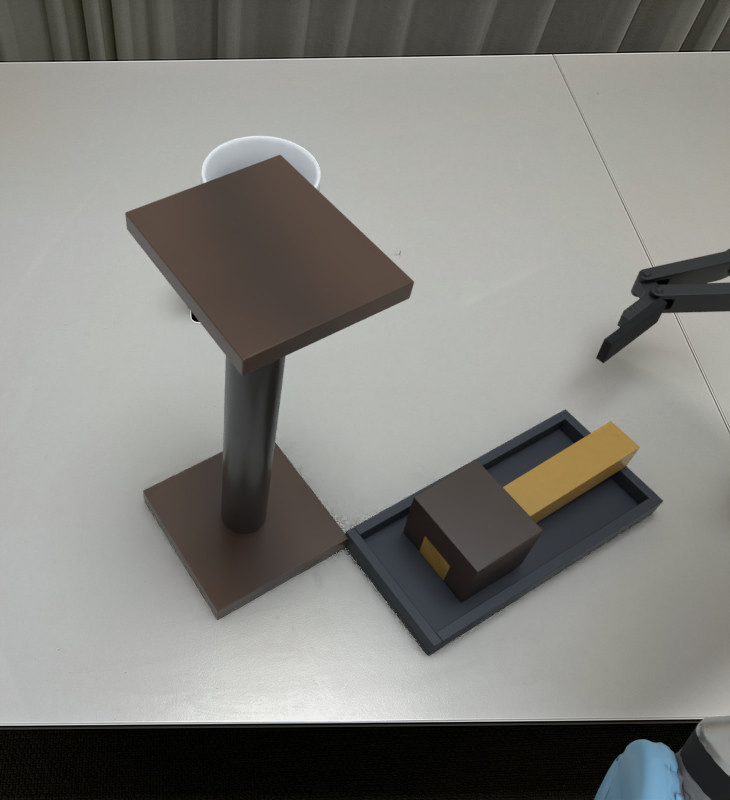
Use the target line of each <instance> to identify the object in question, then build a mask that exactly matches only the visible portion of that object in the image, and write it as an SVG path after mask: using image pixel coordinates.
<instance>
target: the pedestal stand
mask: <svg viewBox="0 0 730 800" xmlns="http://www.w3.org/2000/svg"><path fill="white" fill-rule="evenodd" d="M124 215H125V216H124V217H125V225H126V230H127V232H128V233H129V234H130V235H131V237H132V238H133V239H134V241H135V242H136V243H137V245H139V247H140V248H141V249H142V251H143V252H144V253H145V255H146V256H147V257H148V258H149V259H150V261H151V262H152V263H153V264H154V266H155V267H156V268H157V270H158V271H159V272H160V273H161V275H162V276H163V277H164V278H165V280H166V281H167V282H168V284H169V285H170V286H171V288H172V289H173V290H174V291H175V292H176V294H177V295H178V296H179V298H180V299H181V300H182V302H183V303H184V304H185V305H186V306H187V308H188V309H189V310H190V312H191V313H192V314H193V315H194V317H195V318H196V319H197V321H198V322H199V323H200V324H201V326H202V327H203V328H204V329H205V331H206V332H207V334H208V335H209V336H210V337H211V338H212V340H213V341H214V342H215V344H216V345H217V346H218V347H219V348H220V350H221V351H222V353H223V354H224V355H225V364H224V365H225V366H224V368H225V369H224V403H223V408H224V409H223V433H222V434H223V436H222V451H220V452H218V453H216V454H214V455H213V456H210V457H208V458H206V459H204V460H201V461H200V462H198V463H196V464H194V465H192V466H190V467H188V468H186V469H184V470H182V471H179V472H178V473H176V474H174V475H172V476H170V477H167V478H165V479H163V480H162V481H160V482H157V483H155V484H153V485H151V486H149V487H147V488H145V489H143V490H142V494H143V500H144V502H145V504H146V505H147V507H148V508H149V511H150V512H151V514H152V516H153V518H155V520H156V521H157V524H158V525H159V527H160V529H161V530H162V532H163V533H164V535H165V537H166V538H167V540H168V542H169V543H170V545H171V547H172V548H173V549H174V552H175V553H176V555H177V556H178V558H179V560H180V561H181V563H182V564H183V566H184V568H185V569H186V571H187V573H188V574H189V576H190V578H191V579H192V581H193V582H194V584H195V586H196V588H197V589H198V590H199V592H200V594H201V596H202V597H203V599H204V600H205V602H206V604H207V605H208V607H209V608H210V610H211V612H212V613H213V615H214V617H215V618H216V620H220V619H222V618H224V617H225V616H227V615H229V614H230V613H232V612H234V611H236V610H237V609H239V608H241V607H243V606H244V605H247V604H248V603H251V602H252V601H254V600H255V599H257V598H259V597H261V596H263V595H264V594H266V593H269V591H271V590H274V589H275V588H277V587H278V586H280V585H282V584H284V583H286V582H287V581H289V580H291V579H292V578H294V577H296V576H298V575H300V574H302V573H303V572H305V571H307V570H308V569H310V568H312V567H314V566H316V565H317V564H319V563H321V562H322V561H324V560H327V559H328V558H330V557H331V556H333V555H335V554H337V553H339V552H340V551H343V550H344V549H347V548H346V545H347V542H348V537H347V536H346V535H345V533H346V532H345V531H344V530H343V528H342V527H341V526H340V524H339V523H338V522H337V521H336V519H335V518H334V517H333V515H332V514H331V513H330V512H329V510H328V509H327V508H326V506H325V505H324V503H322V501H321V499H320V498H319V497H318V496H317V494H316V493H315V492H314V491H313V489H312V488H311V487H310V486H309V484H308V482H306V480H305V479H304V478H303V476H302V475H301V474H300V472H299V471H298V470H297V469H296V467H295V466H294V465H293V463H292V462H291V461H290V459H289V458H288V457H287V456H286V454H285V453H284V452H283V451H282V449H281V447H279V445H278V443H277V442H276V439H277V431H278V421H279V414H280V406H281V405H280V404H281V399H282V398H281V397H282V391H283V390H282V389H283V383H284V382H283V381H284V373H285V365H286V356H289V355H291V354H293V353H295V352H297V351H299V350H302V349H304V348H306V347H308V346H311V345H313V344H314V343H317V342H320V341H321V340H323V339H325V338H327V337H329V336H332V335H334V334H336V333H338V332H340V331H342V330H345V329H347V328H349V327H351V326H353V325H355V324H357V323H360V322H362V321H364V320H366V319H368V318H371V317H373V316H375V315H376V314H379V313H381V312H383V311H385V310H387V309H390V308H392V307H394V306H397V305H398V304H401V303H402V302H405V301H407V300H409V299H410V298H411V295H412V291H413V289H414V285H415V281H414V279H412V278H411V276H409V275H408V274H407V273H406V272H405V271H404V270H403V269H402V268H400V267H399V265H397V263H395V262H394V261H393V260H392V259H391V258H390V257H389V256H388V255H387V254H386V253H385V252H384V251H383V250H382V249H380V247H378V245H376V244H375V243H374V242H373V241H372V240H371V239H370V238H369V237H368V236H367V235H366V234H365V233H364V232H363V231H361V229H359V228H358V227H357V226H356V224H354V223H353V222H352V221H351V220H350V219H349V218H348V217H347V216H346V215H345V214H343V212H342V211H341V210H340V209H339V208H337V206H336V205H334V204H333V202H331V201H330V200H329V199H328V198H326V196H324V195H323V193H322V192H321V191H318V190H317V189H316V188H315V187H314V186H313V185H312V184H311V183H310V182H309V181H308V180H307V179H306V178H305V177H303V176H302V175H301V174H300V173H299V172H298V171H297V170H296V169H295V168H294V167H293V166H292V165H291V164H290V163H289V162H288V161H287V160H286V159H285V158H283V157H282V156H281V155H278V156H275V157H272V158H270V159H267V160H264V161H262V162H259V163H256V164H254V165H251V166H248V167H245V168H243V169H240V170H237V171H235V172H232V173H229V174H227V175H224V176H221V177H219V178H216V179H213V180H211V181H208V182H205V183H203V184H201V183H200V184H198V185H196V186H192V187H190V188H186V189H184V190H181V191H178V192H175V193H174V194H171V195H168V196H165V197H162V198H160V199H158V200H154V201H152V202H150V203H146V204H144V205H141V206H139V207H136V208H134V209H131V210H128V211H125V212H124Z"/></svg>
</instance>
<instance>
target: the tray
mask: <svg viewBox="0 0 730 800" xmlns="http://www.w3.org/2000/svg"><path fill="white" fill-rule="evenodd" d="M591 433H592V432H591V431H589V430H588V428H586V426H584V425H583V424H582V423H581V422H580V421H579V420H578V419H577V418H576V417H575V416H573V415H572V414H571V413H570V412H569V411H568V410H567V409H563V410H561V411H560V412H558V413H555V414H554V415H552V416H550V417H549V418H546V419H545V420H543V421H542V422H539V423H537V424H536V425H534V426H532V427H530V428H529V429H527V430H525V431H523V432H522V433H520V434H518V435H516V436H514V437H513V438H511V439H509V440H507V441H506V442H503V443H502V444H500V445H499V446H496V447H495V448H493V449H491V450H489V451H488V452H485V453H484V454H482V455H480V456H478V457H476V458H474V459H473V460H471V461H470V462H468V463H466V464H464V465H463V466H461V467H459V468H457V469H455V470H453V471H451V472H450V473H448V474H446V475H444V476H442V477H440V478H439V479H437V480H436V481H435V480H434V481H433V482H431V483H430V484H428V485H426V486H425V487H423V488H421V489H419V490H417V491H416V492H414V493H412V494H410V495H408V496H407V497H404V498H403V499H401V500H399V501H398V502H396V503H394V504H392V505H390V506H389V507H387V508H385V509H384V510H382V511H379V512H377V513H376V514H374V515H372V516H371V517H369V518H367V519H365V520H364V521H362V522H360V523H358V524H356V525H355V526H353V527H351V528H349V529H348V530H346V531H345V532H344V533H345V535H346V536H347V537H348V542H347V545H346V548H345V549H346V550H347V551H348V552H349V554H350V555H351V556H352V557H353V559H354V560H355V561H356V563H357V564H358V565H359V567H360V568H361V570H362V571H363V572H364V573H365V575H366V576H367V577H368V579H369V580H370V581H371V583H372V584H373V585H374V586H375V588H376V589H377V590H378V592H379V593H380V595H381V596H382V597H383V598H384V600H385V602H386V603H387V604H388V605H389V606H390V608H391V609H392V610H393V612H394V613H395V614H396V616H397V617H398V619H399V620H400V621H401V622H402V624H403V625H404V626H405V628H406V629H407V630H408V632H409V633H410V634H411V636H412V637H413V638H414V639H415V641H416V642H417V644H419V646H420V648H421V649H422V650H423V651H424V653H425V654H426V655H427V656H428V657H429V656H431V655H432V654H434V653H435V652H437V651H439V650H441V649H442V648H443V647H445V646H447V645H448V644H450V643H451V642H453V641H454V640H456V639H458V638H459V637H461V636H463V635H464V634H465V633H467V632H469V631H470V630H472V629H473V628H475V627H476V626H479V624H481V623H483V622H484V621H486V620H488V619H489V618H490V617H492V616H494V615H495V614H497V613H498V612H500V611H502V610H503V609H505V608H506V607H508V606H510V605H511V604H512V603H514V602H516V601H517V600H519V599H520V598H522V597H523V596H525V595H527V594H528V593H530V592H531V591H533V590H534V589H536V588H538V587H539V586H540V585H542V584H544V583H546V582H547V581H549V580H550V579H552V578H553V577H555V576H556V575H558V574H559V573H561V572H563V571H564V570H566V569H568V568H569V567H571V566H572V565H574V564H575V563H577V562H578V561H581V560H582V559H583V558H584V557H586V556H588V555H589V554H591V553H592V552H594V551H596V550H597V549H599V548H600V547H602V546H604V545H605V544H606V543H608V542H610V541H611V540H613V539H614V538H616V537H618V536H619V535H621V534H623V533H624V532H625V531H627V530H628V529H630V528H631V527H633V526H635V525H636V524H637V523H639V522H641V521H643V520H644V519H646V518H647V517H649V516H651V515H652V514H653V513H654V512H655V511H656V510H657V509H658V508H659V507H660V506H661V504H663V503H664V500H663V499H662V498H661V497H660V496H659V495H658V494H657V493H656V492H655V491H653V489H652V488H650V487H649V486H648V485H647V484H646V483H645V482H644V481H643V480H642V479H641V478H639V476H638V475H637V474H636V473H634V472H633V470H631V468H629V467H628V465H627V466H626V467H624V468H622V469H621V470H619V471H618V472H616V473H615V474H613V475H611V476H610V477H608V478H607V479H605V480H604V481H602V482H600V483H599V484H597V485H596V486H594V487H592V488H591V489H589V490H588V491H586V492H585V493H583V494H581V495H580V496H578V497H577V498H575V499H573V500H572V501H570V502H569V503H567V504H566V505H564V506H562V507H561V508H559V509H558V510H556V511H555V512H553V513H551V514H550V515H548V516H547V517H545V518H543V519H542V520H540V521H539V522H537V524H538V525H539V526H540V528H541V529H542V530H543V532H542V533H541V535H540V537H539V538H538V540H537V541H536V543H535V544H534V546H533V547H532V549H531V550H530V552H529V554H528V555H527V557H526V558H525V560H524V561H523V563H522V564H521V565H519V566H518V567H516V568H515V569H513V570H512V571H510V572H509V573H507V574H505V575H504V576H502V577H501V578H499V579H498V580H496V581H495V582H493V583H491V584H490V585H488V586H487V587H485V588H484V589H482V590H481V591H479V592H477V593H476V594H474V595H473V596H471V597H470V598H468V599H467V600H465V601H464V602H460V600H459V599H458V598H457V597H456V595H455V594H454V593H453V592H452V591H451V589H450V588H449V587H448V586H447V584H446V583H445V582H444V581H443V580H442V579H441V577H440V576H439V575H438V574H437V572H436V571H435V570H434V569H433V567H432V566H431V565H430V564H429V563H428V561H427V560H426V559H425V558H424V556H423V555H422V554H421V553H420V552H419V550H418V549H417V548H416V546H415V545H414V544H413V543H412V541H411V540H410V539H409V538H408V537H407V535H406V534H405V533H404V532H403V530H404V527H405V524H406V521H407V517H408V514H409V511H410V508H411V504H412V501H413V498H414V496H416V495H418V494H419V493H421V492H423V491H424V490H426V489H428V488H429V487H431V486H433V485H434V484H436V483H438V482H439V481H441V480H443V479H444V478H446V477H448V476H449V475H451V474H453V473H455V472H456V471H458V470H460V469H461V468H463V467H465V466H466V465H468V464H470V463H471V462H473V461H475V460H478V461H479V462H480V463H481V465H482V466H483V467H484V468H485V469H486V470H487V471H488V472H489V473H490V474H491V475H492V476H493V477H494V478H495V479H496V481H497V482H498V483H499V484H500V485H501V486H502V487H504V486H506V485H507V484H509V483H511V482H512V481H514V480H515V479H517V478H519V477H520V476H522V475H524V474H525V473H527V472H529V471H530V470H532V469H533V468H535V467H537V466H538V465H540V464H542V463H543V462H545V461H546V460H548V459H550V458H551V457H553V456H555V455H556V454H558V453H560V452H561V451H563V450H564V449H566V448H568V447H569V446H571V445H573V444H574V443H576V442H578V441H579V440H581V439H582V438H584V437H586V436H587V435H589V434H591Z"/></svg>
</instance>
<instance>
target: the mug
mask: <svg viewBox="0 0 730 800" xmlns="http://www.w3.org/2000/svg"><path fill="white" fill-rule="evenodd" d="M278 155H281V156H282V157H283V158H285V159H286V160H287V161H288V162H289V163H290V164H291V165H292V166H293V167H294V168H295V169H296V170H297V171H298V172H299V173H300V174H301V175H302V176H303V177H305V178H306V179H307V180H308V181H309V182H310V183H311V184H312V185H313V186H314V187H315V188H316V189H317V190H318V191H319V192H321V191H320V190H321V181H322V171H321V167H320V165H319V163H318V161H317V159H316V158H315V156H314V155H313V154H312V153H311V152H310V151H308V150H307V149H306V148H304V147H303V146H301V145H300V144H298V143H295V142H294V141H291V140H289V139H285V138H283V137H282V138H281V137H277V136H271V135H247V136H242V137H237V138H233V139H230V140H228V141H225V142H223V143H221V144H220V145H218V146H216V147H215V148H214V149H212V150H211V151H210V152H209V153H208V154H207V155H206V157H205V158H204V160H203V163H202V166H201V171H200V184H203V183H205V182H208V181H211V180H213V179H216V178H219V177H221V176H224V175H227V174H229V173H232V172H235V171H237V170H240V169H243V168H245V167H248V166H251V165H254V164H256V163H259V162H262V161H264V160H267V159H270V158H272V157H275V156H278Z"/></svg>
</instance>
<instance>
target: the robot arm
mask: <svg viewBox="0 0 730 800" xmlns="http://www.w3.org/2000/svg"><path fill="white" fill-rule="evenodd" d="M728 277H730V248H728V249H726V250H724V251H719V252H716V253H711V254H706V255H702V256H698V257H692V258H688V259H684V260H679V261H674V262H669V263H665V264H661V265H656V266H652V267H651V266H650V267H646V268H642V269H641V270H639V272H638V274H637V276H636V278H635V280H634V282H633V285H632V287H631V290H630V295H632V296H633V297H635V298H638V299H637V300H636V301H634V302H633V303H632V304H630V305H629V306H628V307H626V308H625V309H623V311H622V313H621V315H620V318H619V320H618V322H617V324H616V326H617V327H618V328H617V329H616V330H614V331H613V332H612V333H610V334H609V335H608V336H607V337H605V338H604V339H603V341H602V343H601V346H600V348H599V350H598V351H597V354H596V357H595V359H596V360H598V361H599V362H601V364H605V363H606V362H607V361H608V360H610V359H611V358H613V357H614V356H615V355H616V354H618V353H619V352H620V351H621V350H624V348H626V347H627V346H628V345H630V344H631V343H632V342H634V341H635V340H637V339H638V338H639V337H640V336H642V335H643V334H644V333H645V332H646V331H648V330H649V329H651V328H652V327H653V326H655V325H656V324H657V323H658V322H659V320H660V318H661V317H662V314H685V313H720V312H721V313H724V312H725V313H726V312H730V282H729V281H728V282H718V281H722V280H724V279H726V278H728ZM593 800H730V715H721V716H709V717H704V718H703V719H702V720H700V721H699V723H698V724H697V725H696V726H695V728H694V729H693V730H692V732H691V734H690V735H689V737H688V738H687V740H686V741H685V743H684V744H683V745H682V747H681V748H680V749H679V751H677V752H676V753H675V752H674V751H673V750H672V749H671V748H670V747H669V746H668V745H666V744H665V743H663V742H661V741H659V742H653V741H651V740H648V739H643V738H642V739H641V738H640V739H636V740H634V741H632V742H630V743H629V744H627V746H626V747H625V749H624V751H623V753H620V754H619V755H618V756H617V757H616V758H615V759H614V761H613V762H612V764H611V765H610V767H609V768H608V770H607V772H606V774H605V776H604V778H603V780H602V782H601V784H600V786H599V788H598V790H597V792H596V794H595V796H594V799H593Z"/></svg>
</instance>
